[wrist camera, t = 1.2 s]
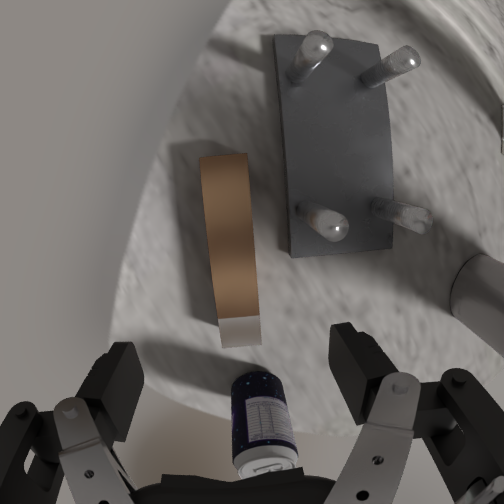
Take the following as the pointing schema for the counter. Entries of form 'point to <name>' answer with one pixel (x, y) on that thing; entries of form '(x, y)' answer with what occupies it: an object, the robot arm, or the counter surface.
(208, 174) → the brown wooden bar
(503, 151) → the skyscraper
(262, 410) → the beverage can
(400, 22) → the counter surface
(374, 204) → the peg rack
